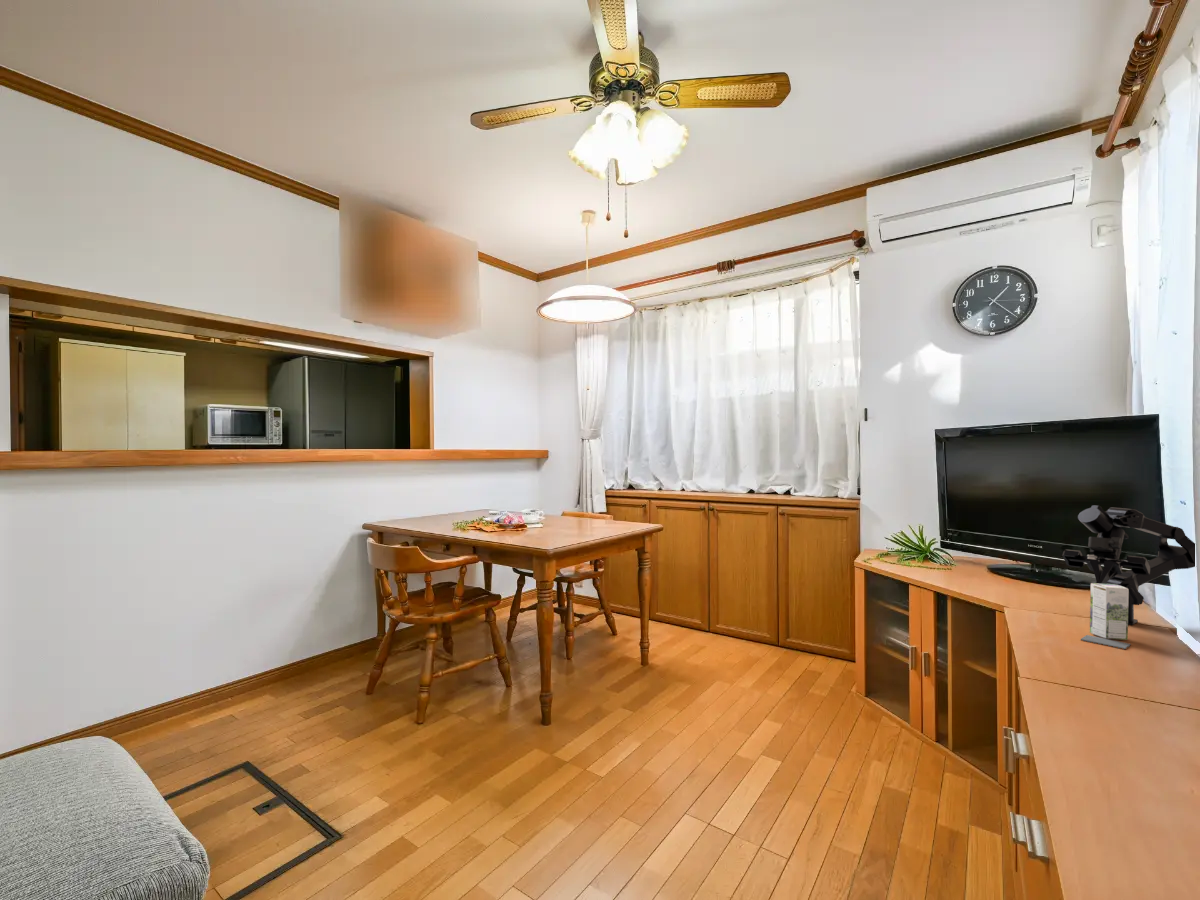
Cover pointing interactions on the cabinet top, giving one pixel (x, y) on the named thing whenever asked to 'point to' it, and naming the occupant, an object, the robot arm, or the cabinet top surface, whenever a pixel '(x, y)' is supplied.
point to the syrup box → (1109, 611)
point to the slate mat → (1105, 641)
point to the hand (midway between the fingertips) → (1099, 585)
